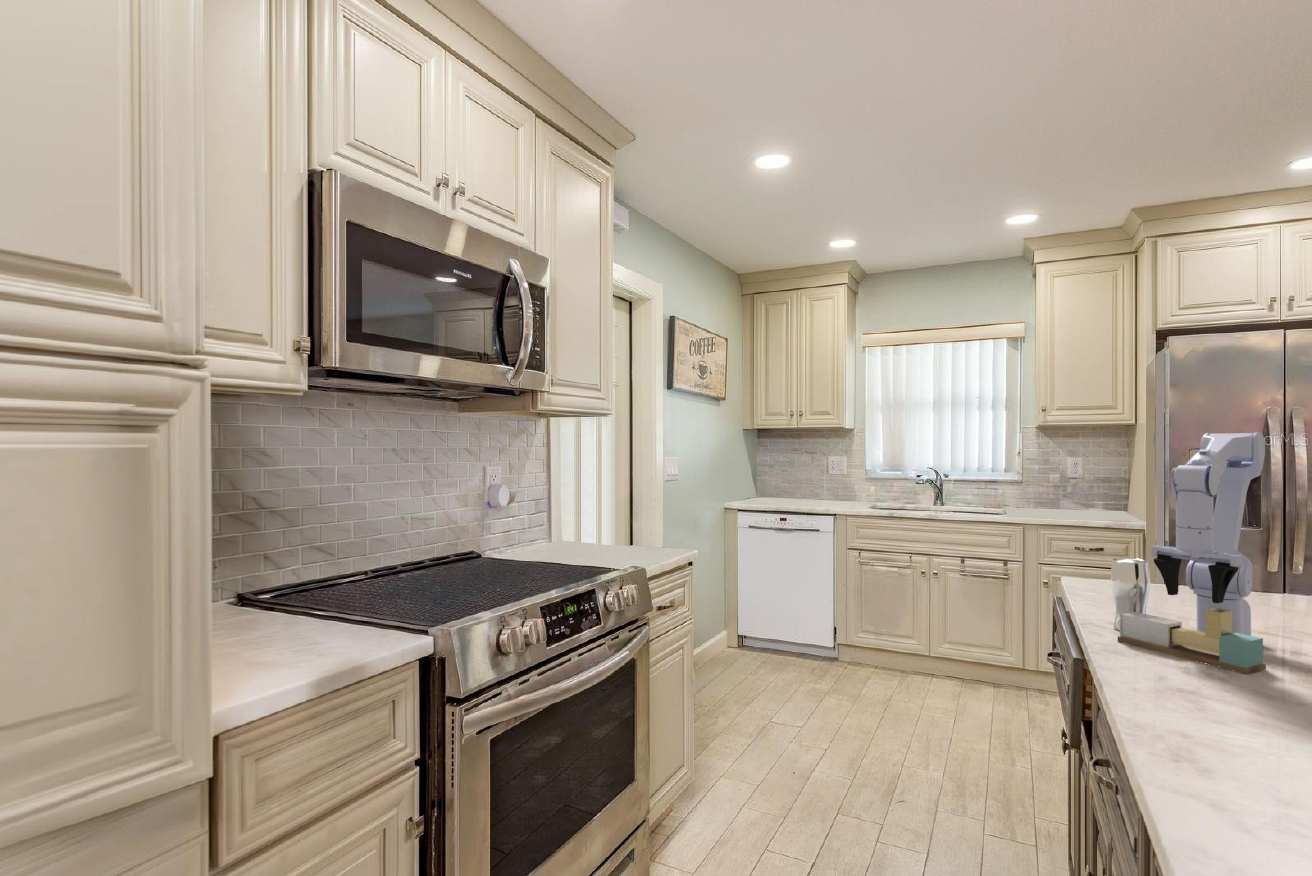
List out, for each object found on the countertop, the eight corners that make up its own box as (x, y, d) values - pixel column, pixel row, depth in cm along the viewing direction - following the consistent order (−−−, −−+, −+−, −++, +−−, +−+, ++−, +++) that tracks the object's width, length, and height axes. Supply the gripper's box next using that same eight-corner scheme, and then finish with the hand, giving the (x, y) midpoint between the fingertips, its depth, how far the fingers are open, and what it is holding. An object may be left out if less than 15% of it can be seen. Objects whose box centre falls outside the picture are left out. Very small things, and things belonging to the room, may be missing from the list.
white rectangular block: (1133, 633, 142) (1133, 611, 142) (1181, 645, 134) (1181, 621, 134) (1120, 636, 140) (1119, 613, 140) (1168, 648, 132) (1168, 624, 132)
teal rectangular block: (1236, 657, 126) (1236, 632, 126) (1263, 663, 122) (1262, 638, 122) (1219, 661, 124) (1218, 636, 124) (1245, 668, 120) (1245, 642, 120)
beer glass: (1157, 635, 144) (1156, 563, 144) (1120, 633, 145) (1119, 562, 145) (1140, 626, 151) (1140, 558, 151) (1105, 625, 152) (1105, 557, 152)
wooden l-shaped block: (1166, 636, 136) (1166, 598, 136) (1246, 655, 124) (1246, 613, 124) (1155, 639, 134) (1155, 600, 134) (1235, 658, 122) (1235, 615, 122)
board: (1135, 637, 142) (1135, 632, 142) (1265, 669, 122) (1265, 663, 122) (1117, 641, 140) (1117, 636, 140) (1247, 674, 120) (1247, 668, 120)
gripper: (1141, 524, 137) (1141, 592, 137) (1226, 532, 124) (1227, 608, 124) (1163, 523, 140) (1163, 590, 140) (1248, 531, 127) (1248, 605, 127)
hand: (1194, 598), depth 132 cm, fingers open, 7 cm apart
